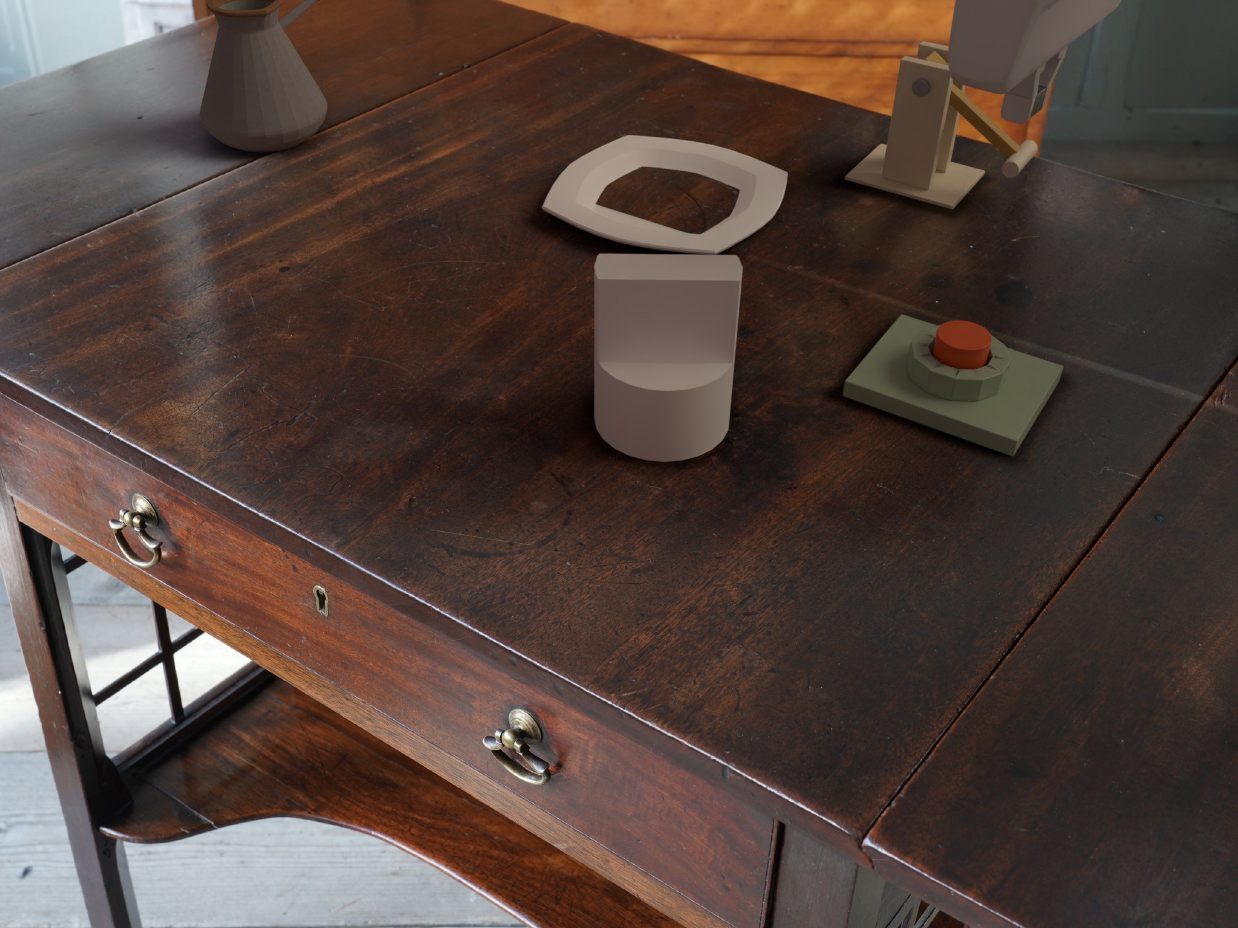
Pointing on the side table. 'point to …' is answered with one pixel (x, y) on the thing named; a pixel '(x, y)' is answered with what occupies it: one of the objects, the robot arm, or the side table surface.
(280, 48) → the coffee pot
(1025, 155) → the lever handle
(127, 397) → the side table surface
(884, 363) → the button housing
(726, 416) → the cylinder with rectangular tab
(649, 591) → the side table surface
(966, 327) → the lamp button
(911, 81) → the bracket
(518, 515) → the side table surface
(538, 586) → the side table surface
